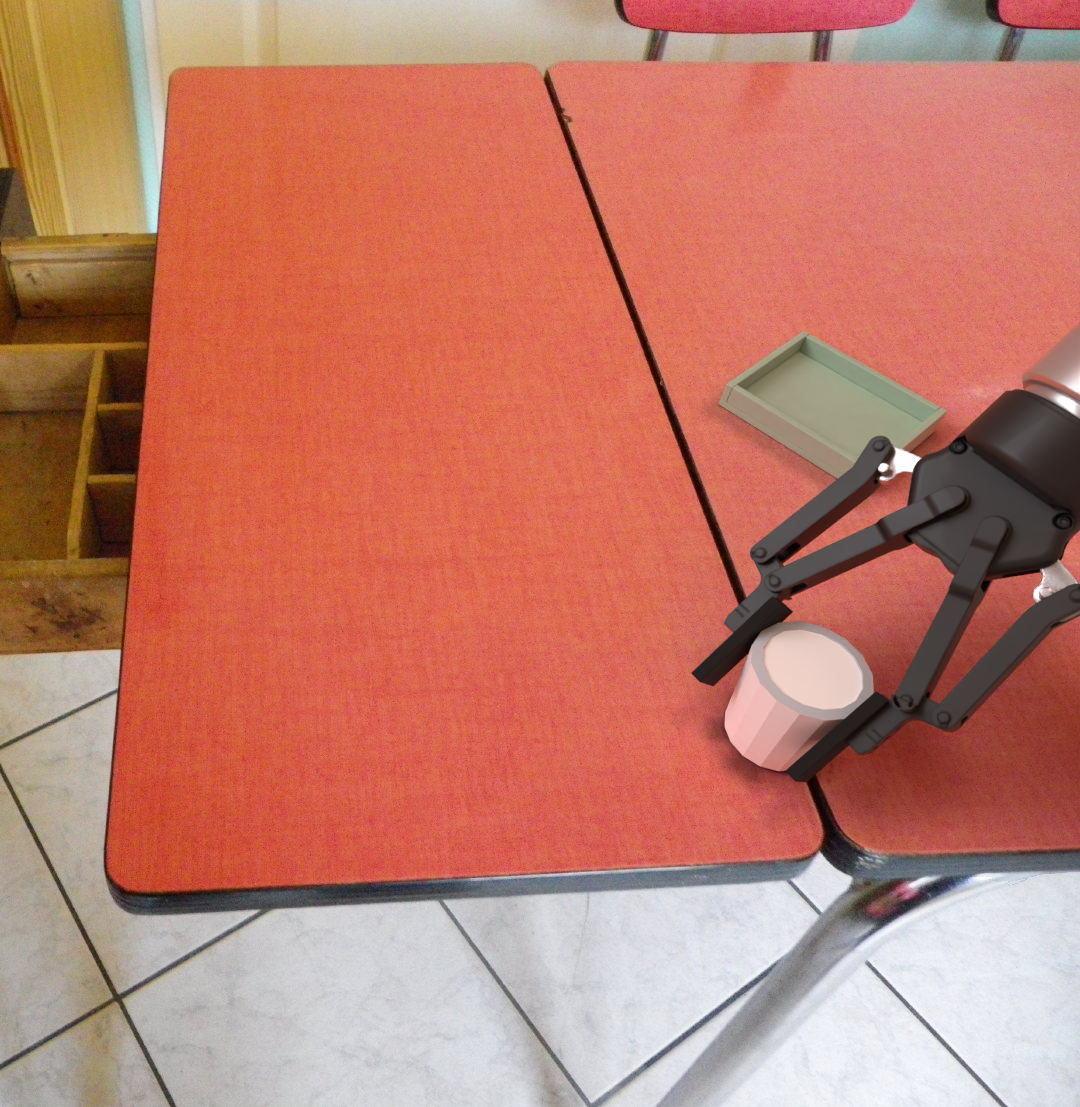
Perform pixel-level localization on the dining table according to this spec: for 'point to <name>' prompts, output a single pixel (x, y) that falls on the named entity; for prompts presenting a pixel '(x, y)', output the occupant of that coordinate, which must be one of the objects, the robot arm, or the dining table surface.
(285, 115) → the dining table surface
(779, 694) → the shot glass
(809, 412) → the green tray
